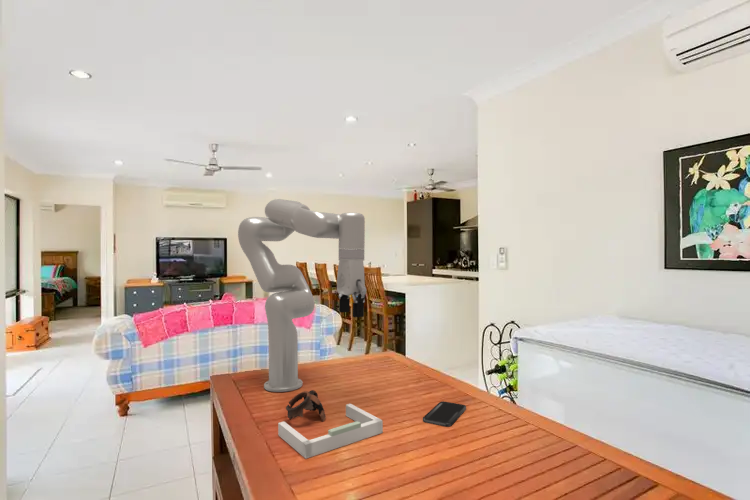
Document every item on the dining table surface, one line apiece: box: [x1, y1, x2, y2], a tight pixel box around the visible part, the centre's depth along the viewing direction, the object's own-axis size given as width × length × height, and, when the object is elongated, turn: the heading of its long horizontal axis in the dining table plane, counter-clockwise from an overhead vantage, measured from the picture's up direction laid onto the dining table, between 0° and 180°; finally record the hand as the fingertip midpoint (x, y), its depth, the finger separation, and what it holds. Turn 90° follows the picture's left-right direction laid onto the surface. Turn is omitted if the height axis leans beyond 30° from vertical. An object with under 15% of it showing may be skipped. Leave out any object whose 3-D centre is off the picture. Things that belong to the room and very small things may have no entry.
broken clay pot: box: [285, 389, 327, 423], centre depth 111 cm, size 12×10×8 cm
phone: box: [422, 400, 467, 428], centre depth 112 cm, size 8×1×15 cm
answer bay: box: [277, 403, 384, 460], centre depth 100 cm, size 14×21×4 cm
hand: (351, 314), depth 119 cm, fingers open, 9 cm apart
